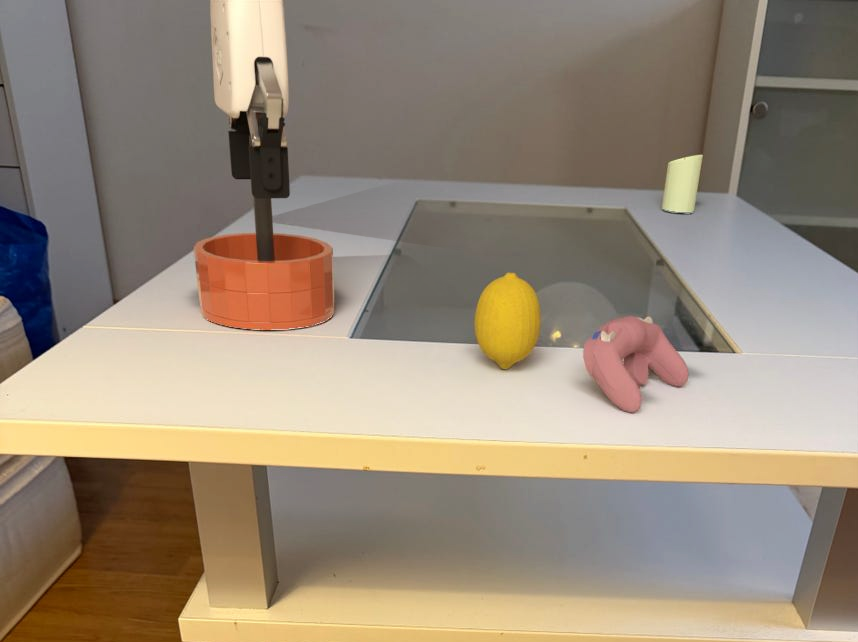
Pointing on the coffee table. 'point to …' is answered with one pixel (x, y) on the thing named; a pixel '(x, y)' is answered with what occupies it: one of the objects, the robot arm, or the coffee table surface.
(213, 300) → the bowl
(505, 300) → the lemon
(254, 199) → the ring toss peg
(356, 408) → the coffee table surface
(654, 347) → the video game controller
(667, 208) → the candle
